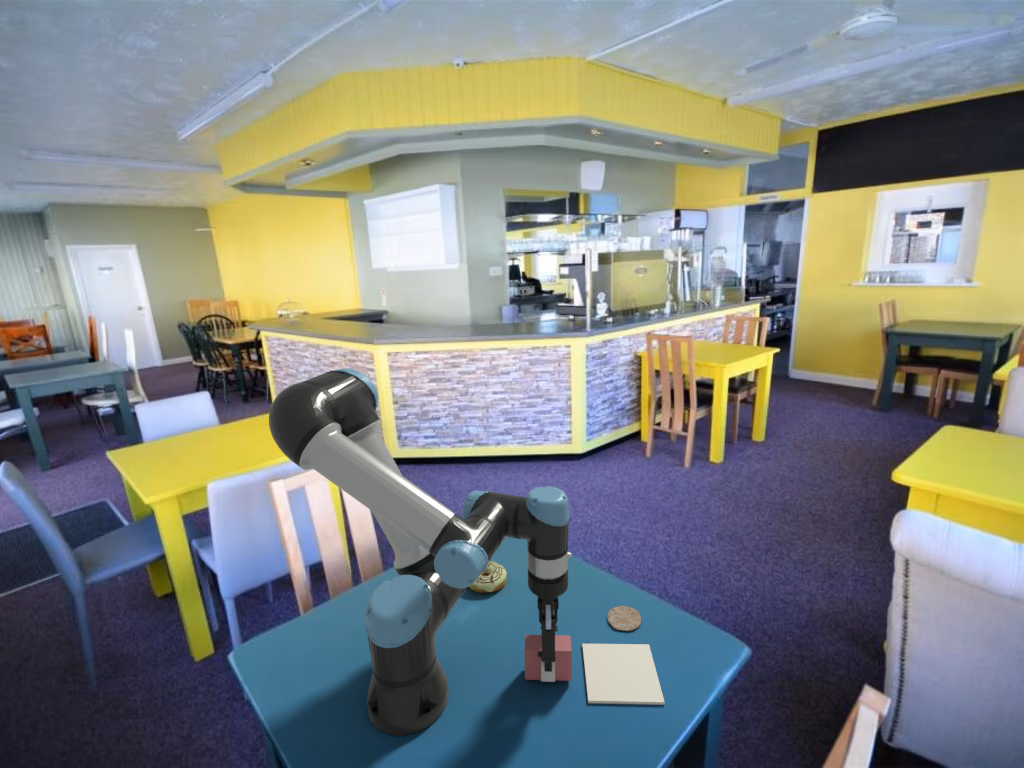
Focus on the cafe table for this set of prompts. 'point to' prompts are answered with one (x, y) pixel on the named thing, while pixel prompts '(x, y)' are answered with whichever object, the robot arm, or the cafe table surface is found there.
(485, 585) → the decorated donut
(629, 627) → the flatbread
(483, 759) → the cafe table surface
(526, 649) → the card deck box
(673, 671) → the cafe table surface
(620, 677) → the serving mat
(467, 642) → the cafe table surface
